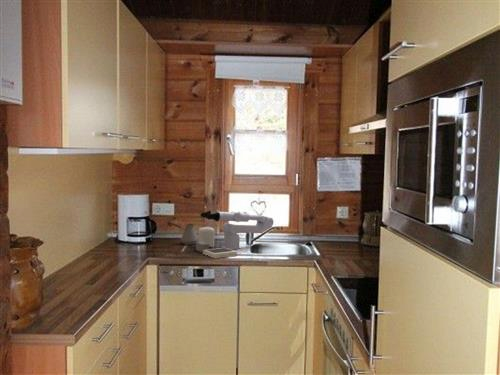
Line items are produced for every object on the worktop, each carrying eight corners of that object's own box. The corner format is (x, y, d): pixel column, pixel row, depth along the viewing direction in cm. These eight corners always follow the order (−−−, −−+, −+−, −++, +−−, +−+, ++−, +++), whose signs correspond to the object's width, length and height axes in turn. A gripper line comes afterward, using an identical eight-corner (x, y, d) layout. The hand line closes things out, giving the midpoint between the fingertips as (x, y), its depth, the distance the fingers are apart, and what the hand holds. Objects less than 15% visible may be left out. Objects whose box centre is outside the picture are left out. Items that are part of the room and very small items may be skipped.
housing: (202, 249, 284) (202, 241, 283) (209, 252, 277) (209, 243, 277) (196, 250, 281) (196, 242, 281) (202, 252, 275) (202, 244, 274)
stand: (224, 251, 278) (224, 247, 278) (236, 255, 268) (236, 251, 268) (203, 254, 270) (203, 249, 269) (214, 258, 259) (214, 253, 259)
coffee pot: (191, 241, 308) (192, 219, 307) (201, 244, 300) (202, 221, 299) (164, 244, 294) (164, 221, 293) (174, 247, 286) (174, 224, 285)
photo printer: (213, 245, 296) (214, 226, 295) (214, 247, 292) (214, 227, 291) (197, 245, 295) (198, 226, 294) (198, 247, 290) (198, 227, 290)
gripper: (217, 208, 291) (198, 207, 283) (230, 211, 279) (211, 210, 271) (216, 219, 291) (197, 219, 283) (228, 222, 279) (209, 222, 271)
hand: (204, 215), depth 277 cm, fingers open, 7 cm apart
